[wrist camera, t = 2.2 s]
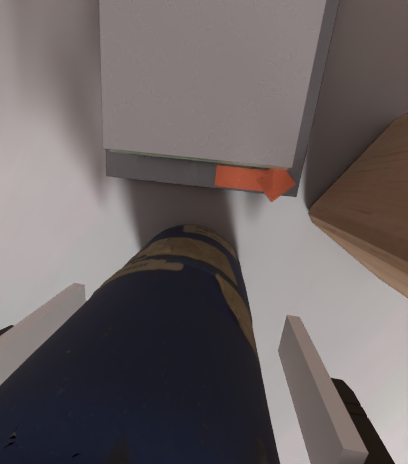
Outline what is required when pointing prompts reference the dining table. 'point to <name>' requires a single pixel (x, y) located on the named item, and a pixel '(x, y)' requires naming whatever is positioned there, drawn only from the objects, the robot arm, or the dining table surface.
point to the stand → (212, 90)
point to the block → (373, 207)
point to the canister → (147, 368)
